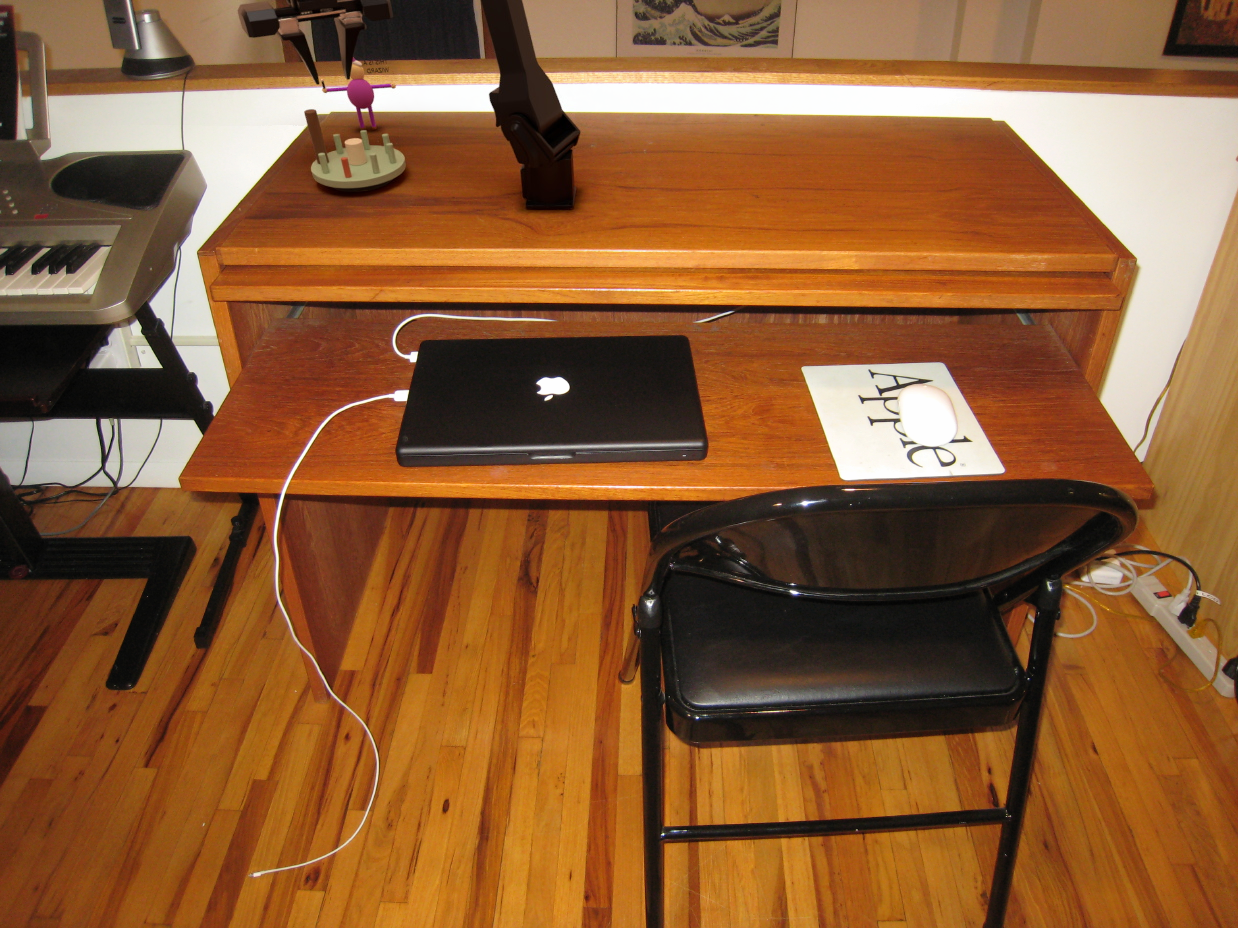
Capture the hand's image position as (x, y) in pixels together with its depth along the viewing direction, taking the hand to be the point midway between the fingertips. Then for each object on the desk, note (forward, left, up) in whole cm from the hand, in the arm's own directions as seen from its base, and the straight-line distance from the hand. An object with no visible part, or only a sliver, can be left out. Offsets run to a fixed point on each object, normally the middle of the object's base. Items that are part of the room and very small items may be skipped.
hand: (332, 81), depth 113 cm
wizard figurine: (+1, -15, -12) cm, 19 cm away
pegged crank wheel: (-3, +4, -11) cm, 12 cm away
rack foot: (-3, +4, -12) cm, 13 cm away
